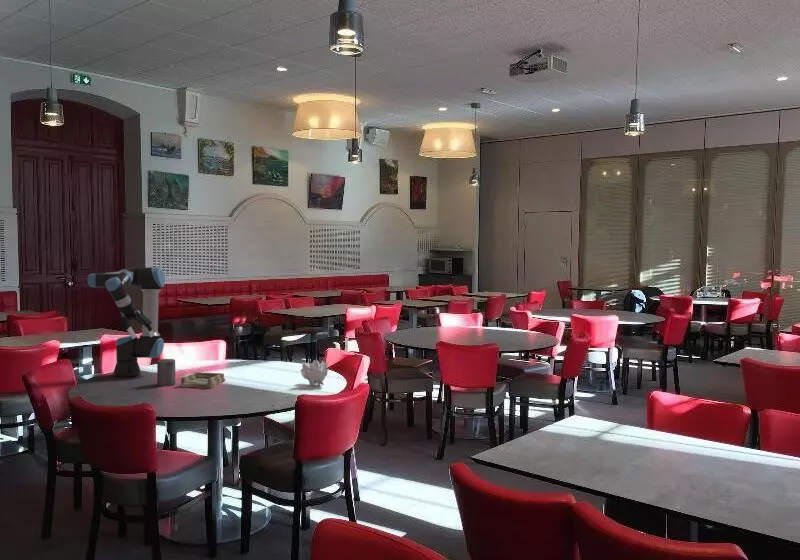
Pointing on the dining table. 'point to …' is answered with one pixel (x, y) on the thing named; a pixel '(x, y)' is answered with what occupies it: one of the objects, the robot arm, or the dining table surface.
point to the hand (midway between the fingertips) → (143, 336)
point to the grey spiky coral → (314, 372)
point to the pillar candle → (166, 372)
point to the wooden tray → (202, 380)
